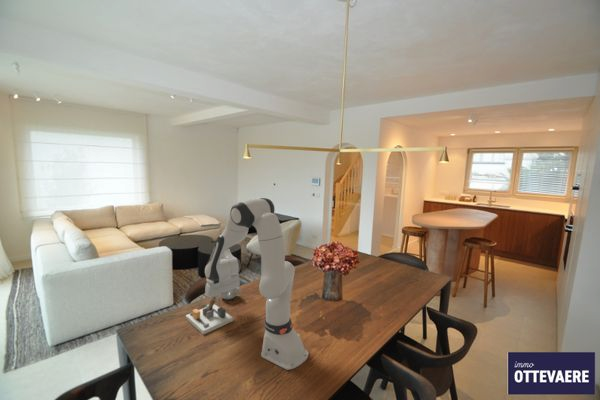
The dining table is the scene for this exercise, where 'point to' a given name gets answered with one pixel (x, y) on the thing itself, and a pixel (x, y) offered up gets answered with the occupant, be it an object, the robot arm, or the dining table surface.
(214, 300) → the walnut lever
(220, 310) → the black slider
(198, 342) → the dining table surface
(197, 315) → the orange slider
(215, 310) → the panel
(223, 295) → the teacup
